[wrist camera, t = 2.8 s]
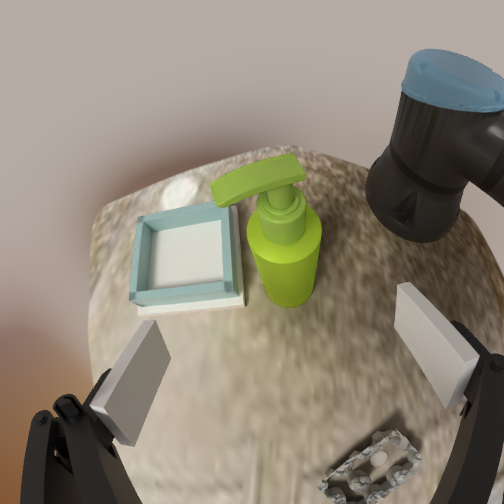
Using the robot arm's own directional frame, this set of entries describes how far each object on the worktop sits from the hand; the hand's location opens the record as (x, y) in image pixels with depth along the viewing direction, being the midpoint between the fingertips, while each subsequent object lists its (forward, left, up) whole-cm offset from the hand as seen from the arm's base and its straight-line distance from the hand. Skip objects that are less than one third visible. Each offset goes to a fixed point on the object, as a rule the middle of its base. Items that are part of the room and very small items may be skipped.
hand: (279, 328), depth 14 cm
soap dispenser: (-1, -8, -18) cm, 19 cm away
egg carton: (-8, +16, -18) cm, 25 cm away
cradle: (+11, -13, -17) cm, 25 cm away
